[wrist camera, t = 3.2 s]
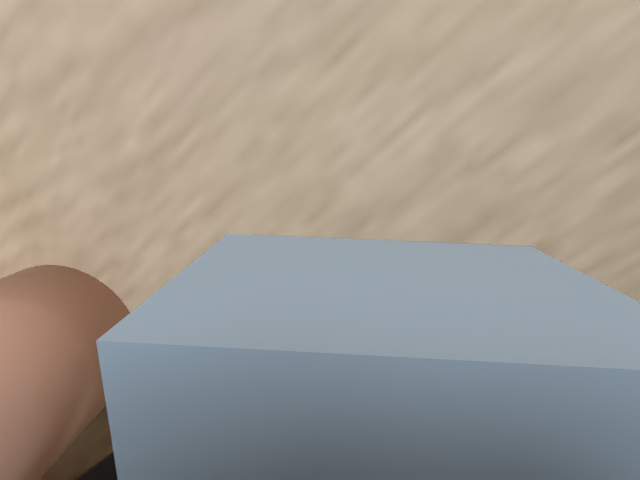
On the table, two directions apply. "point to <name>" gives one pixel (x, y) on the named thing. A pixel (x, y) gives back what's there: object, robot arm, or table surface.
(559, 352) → the block
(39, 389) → the peach rounded capsule
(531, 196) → the table surface
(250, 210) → the table surface
